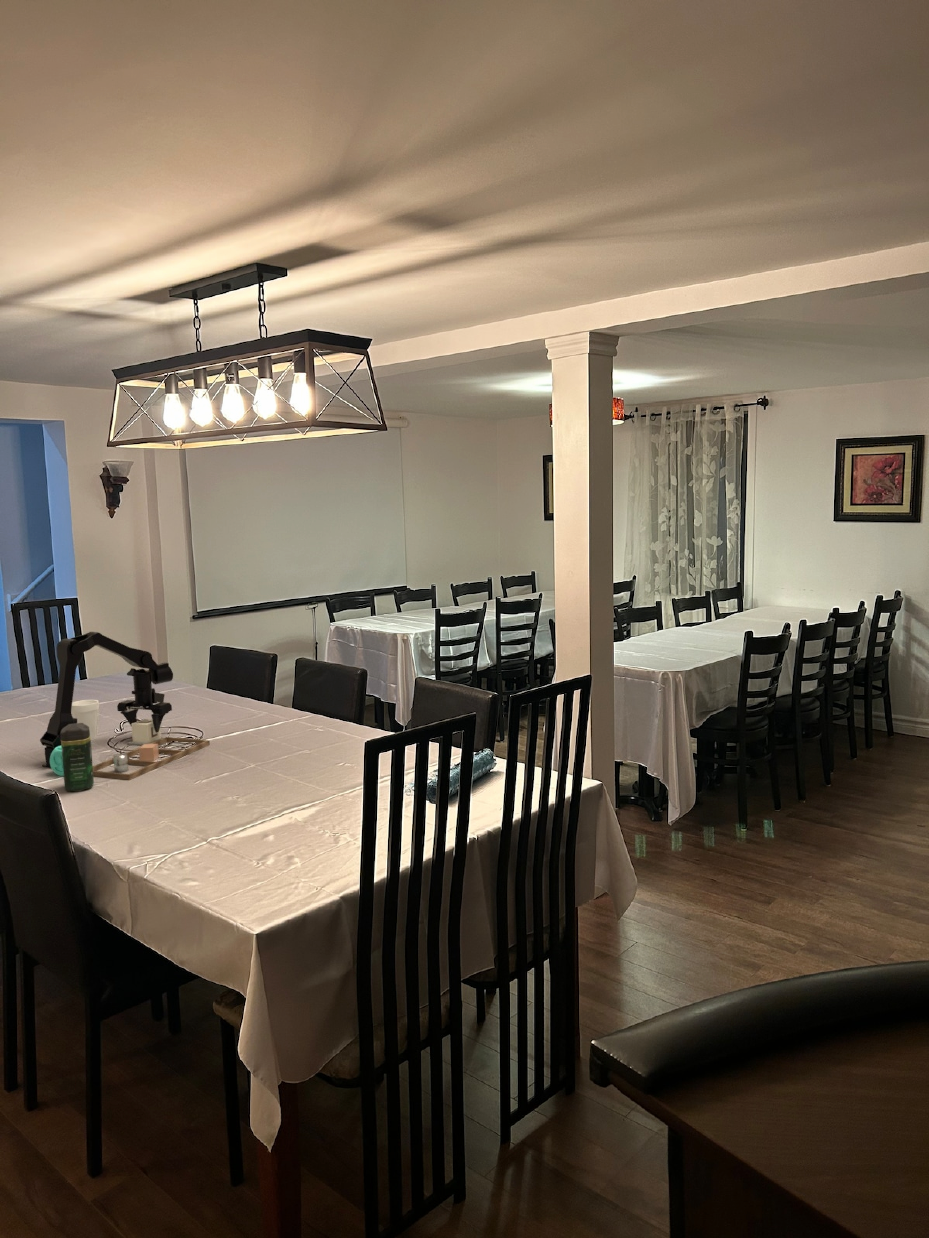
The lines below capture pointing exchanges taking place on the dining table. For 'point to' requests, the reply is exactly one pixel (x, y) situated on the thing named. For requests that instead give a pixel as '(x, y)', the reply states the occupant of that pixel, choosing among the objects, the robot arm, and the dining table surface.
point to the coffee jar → (77, 757)
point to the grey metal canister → (120, 763)
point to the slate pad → (140, 743)
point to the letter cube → (144, 731)
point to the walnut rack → (149, 764)
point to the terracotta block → (149, 752)
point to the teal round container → (57, 761)
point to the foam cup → (87, 714)
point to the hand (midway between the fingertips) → (146, 731)
